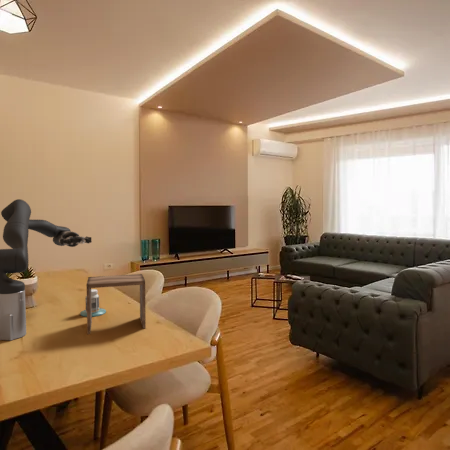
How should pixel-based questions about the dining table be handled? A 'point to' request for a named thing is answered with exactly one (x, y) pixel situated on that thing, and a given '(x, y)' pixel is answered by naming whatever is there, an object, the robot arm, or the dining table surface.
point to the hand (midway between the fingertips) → (79, 241)
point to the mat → (100, 312)
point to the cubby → (112, 282)
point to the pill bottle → (94, 301)
